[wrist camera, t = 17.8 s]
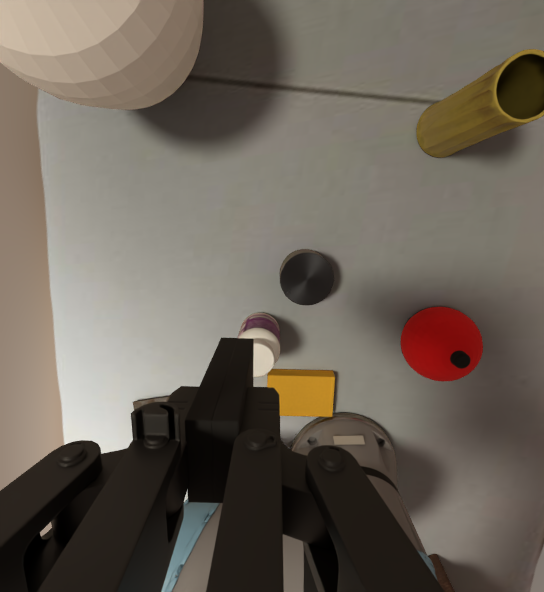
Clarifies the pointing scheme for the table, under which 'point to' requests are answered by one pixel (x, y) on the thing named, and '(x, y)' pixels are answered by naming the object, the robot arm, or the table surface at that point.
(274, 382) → the orange rectangular block
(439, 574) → the book
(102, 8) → the vase
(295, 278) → the metal tin
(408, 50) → the table surface
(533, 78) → the vase
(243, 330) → the pill bottle
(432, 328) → the ornament
